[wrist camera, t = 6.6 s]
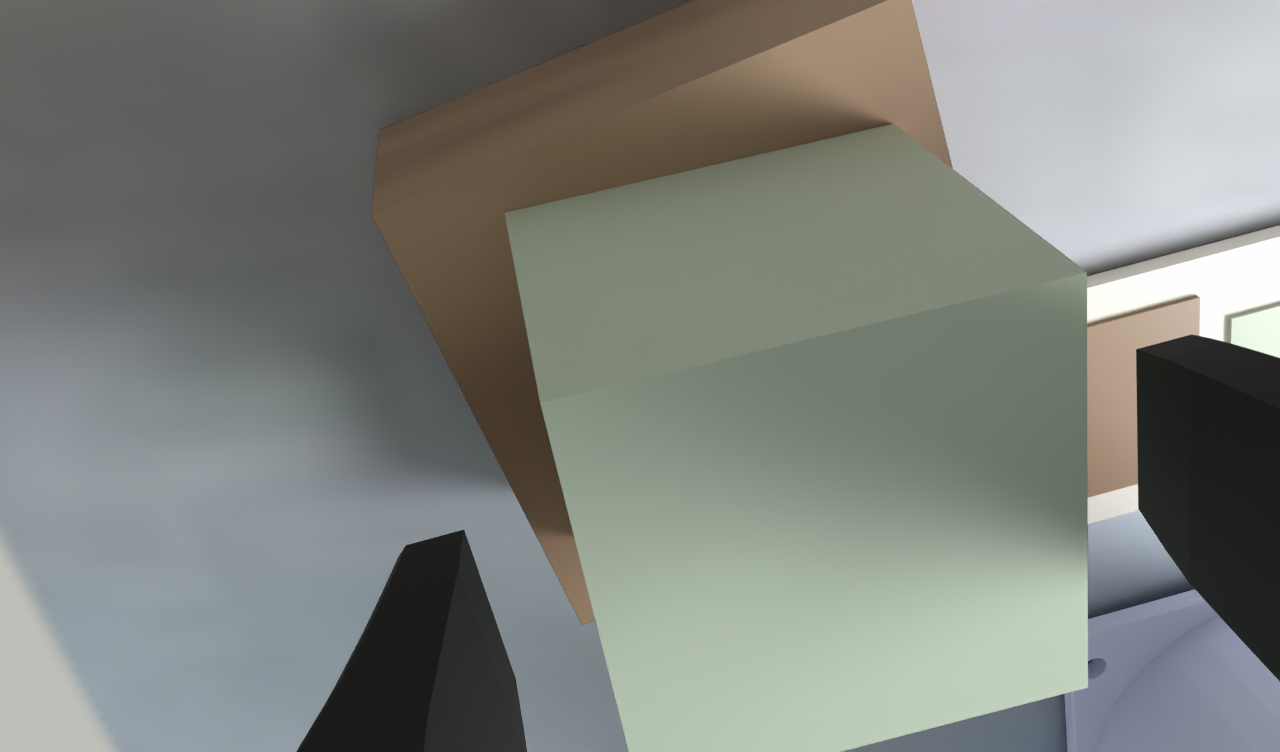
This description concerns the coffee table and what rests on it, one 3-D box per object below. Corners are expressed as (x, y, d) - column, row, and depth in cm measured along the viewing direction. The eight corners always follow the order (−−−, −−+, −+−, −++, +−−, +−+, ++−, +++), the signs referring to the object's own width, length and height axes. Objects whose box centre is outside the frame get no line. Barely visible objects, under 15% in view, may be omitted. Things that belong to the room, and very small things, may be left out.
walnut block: (921, 334, 21) (1021, 447, 18) (554, 482, 21) (582, 624, 18) (812, -55, 18) (908, -10, 14) (379, 125, 18) (370, 214, 15)
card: (1366, 432, 24) (1384, 445, 23) (1025, 527, 23) (1036, 541, 23) (1389, 195, 21) (1409, 205, 21) (1009, 296, 21) (1022, 309, 20)
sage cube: (920, 454, 18) (1088, 687, 13) (585, 537, 17) (641, 803, 13) (893, 123, 15) (1085, 272, 11) (504, 212, 15) (540, 402, 10)
